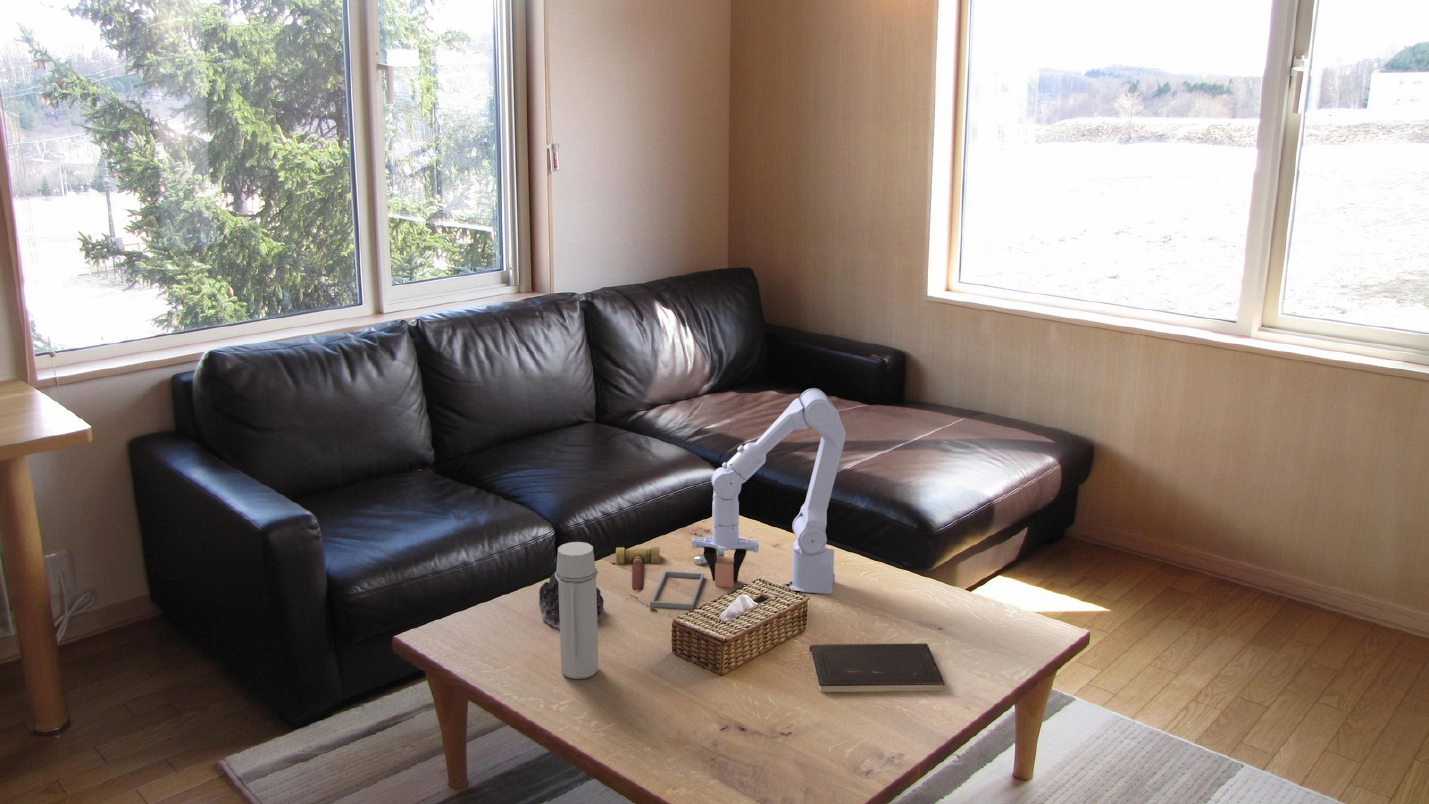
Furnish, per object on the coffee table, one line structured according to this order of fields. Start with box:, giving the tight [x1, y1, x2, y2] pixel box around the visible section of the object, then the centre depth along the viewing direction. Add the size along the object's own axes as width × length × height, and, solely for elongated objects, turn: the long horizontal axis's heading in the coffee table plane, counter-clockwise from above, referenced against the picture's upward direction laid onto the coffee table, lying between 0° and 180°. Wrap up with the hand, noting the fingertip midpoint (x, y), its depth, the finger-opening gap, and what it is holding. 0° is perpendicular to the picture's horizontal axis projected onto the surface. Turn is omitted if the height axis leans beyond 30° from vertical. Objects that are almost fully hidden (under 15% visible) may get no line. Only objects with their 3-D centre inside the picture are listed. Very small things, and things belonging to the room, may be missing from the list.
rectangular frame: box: [649, 570, 705, 612], centre depth 243 cm, size 9×16×2 cm, turn 172°
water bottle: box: [555, 541, 599, 680], centre depth 208 cm, size 9×8×25 cm
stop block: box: [714, 556, 736, 588], centre depth 247 cm, size 4×4×6 cm
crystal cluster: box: [538, 571, 605, 630], centre depth 233 cm, size 13×14×10 cm
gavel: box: [615, 546, 661, 599], centre depth 252 cm, size 21×5×10 cm
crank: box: [693, 549, 725, 566], centre depth 259 cm, size 8×3×5 cm, turn 127°
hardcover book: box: [809, 642, 946, 693], centre depth 213 cm, size 16×23×2 cm
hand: (725, 579), depth 247 cm, fingers closed on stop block, 4 cm apart
